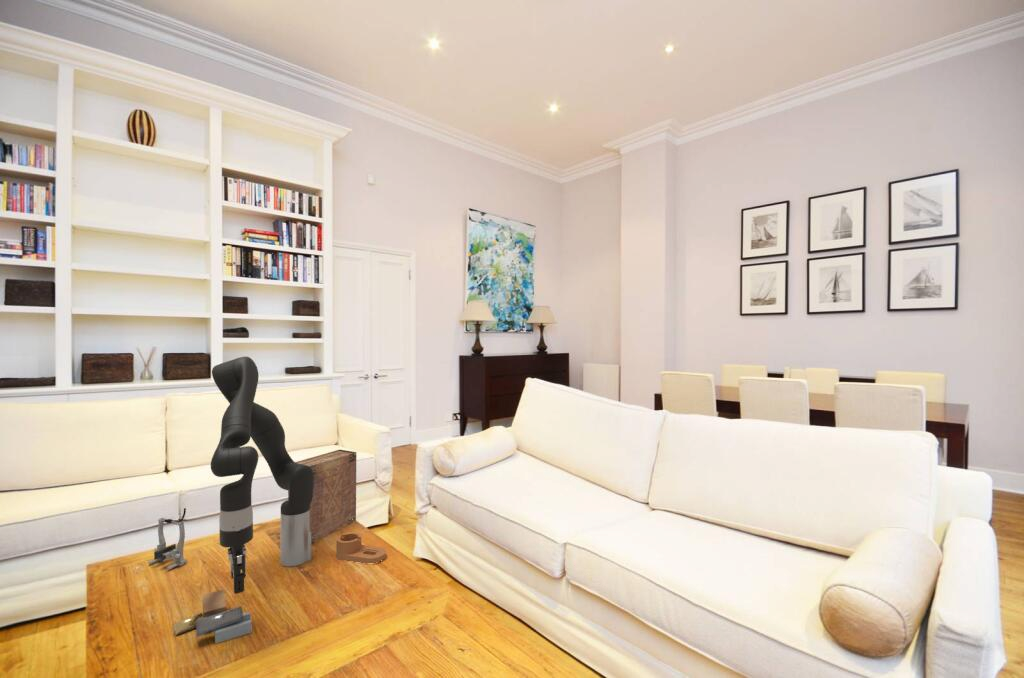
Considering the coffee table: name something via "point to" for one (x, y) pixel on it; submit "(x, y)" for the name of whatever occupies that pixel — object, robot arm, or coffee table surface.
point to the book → (332, 492)
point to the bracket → (357, 549)
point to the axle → (219, 621)
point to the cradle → (234, 629)
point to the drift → (186, 624)
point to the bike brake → (171, 551)
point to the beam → (213, 603)
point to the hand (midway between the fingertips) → (237, 584)
